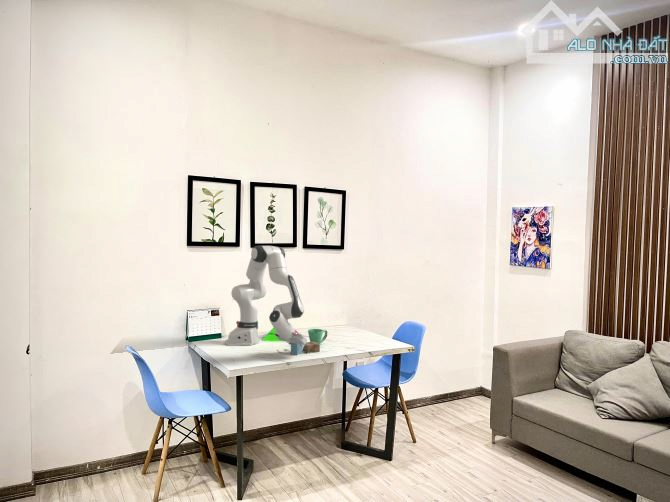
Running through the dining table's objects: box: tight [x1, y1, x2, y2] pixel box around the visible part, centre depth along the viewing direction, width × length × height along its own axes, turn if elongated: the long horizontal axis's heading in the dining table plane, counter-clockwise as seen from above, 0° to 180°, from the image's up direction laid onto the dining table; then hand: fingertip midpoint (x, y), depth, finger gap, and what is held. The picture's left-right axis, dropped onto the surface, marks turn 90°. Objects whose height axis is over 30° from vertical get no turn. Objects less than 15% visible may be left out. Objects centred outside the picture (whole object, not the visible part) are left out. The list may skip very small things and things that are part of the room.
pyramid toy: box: [261, 326, 300, 343], centre depth 332 cm, size 25×25×14 cm
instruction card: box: [276, 347, 291, 353], centre depth 296 cm, size 10×7×1 cm
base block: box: [302, 341, 321, 354], centre depth 296 cm, size 8×8×5 cm
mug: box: [307, 328, 328, 345], centre depth 312 cm, size 15×10×10 cm
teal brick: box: [290, 343, 303, 356], centre depth 289 cm, size 5×5×9 cm
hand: (297, 345), depth 290 cm, fingers open, 8 cm apart
